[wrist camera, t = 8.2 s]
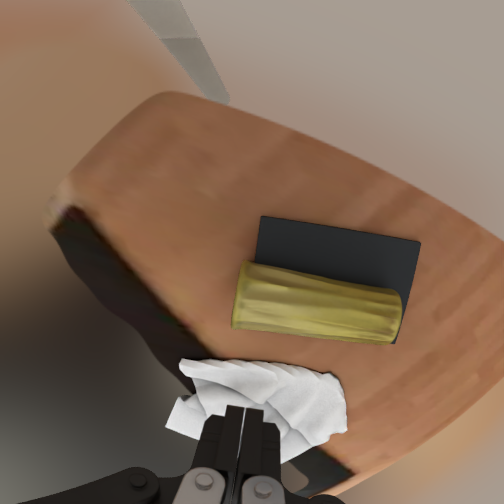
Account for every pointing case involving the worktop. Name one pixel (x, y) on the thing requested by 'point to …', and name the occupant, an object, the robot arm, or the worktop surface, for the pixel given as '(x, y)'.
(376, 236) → the mat
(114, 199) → the worktop surface
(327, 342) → the worktop surface
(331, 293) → the vase
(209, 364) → the cloth
